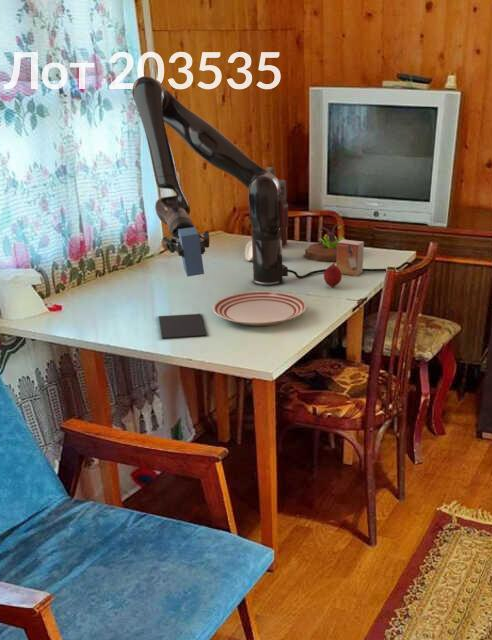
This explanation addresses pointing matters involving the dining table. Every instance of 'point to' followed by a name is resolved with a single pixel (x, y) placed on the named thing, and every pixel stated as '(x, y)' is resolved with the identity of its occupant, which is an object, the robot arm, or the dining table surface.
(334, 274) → the onion
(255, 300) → the dinner plate
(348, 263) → the small box
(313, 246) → the plant
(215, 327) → the dining table surface
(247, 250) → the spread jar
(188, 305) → the dining table surface
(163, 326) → the mat
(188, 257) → the blue block
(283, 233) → the toy vending machine
